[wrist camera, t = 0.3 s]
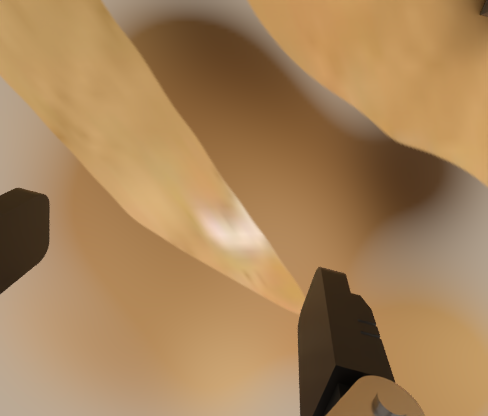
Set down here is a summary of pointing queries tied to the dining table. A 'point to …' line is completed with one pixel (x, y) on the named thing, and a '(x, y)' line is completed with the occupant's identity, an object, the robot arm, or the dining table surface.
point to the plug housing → (485, 9)
